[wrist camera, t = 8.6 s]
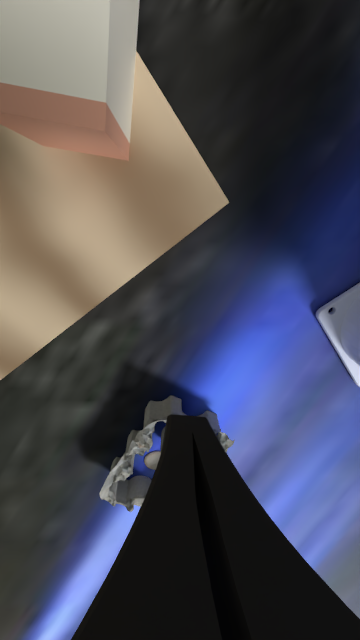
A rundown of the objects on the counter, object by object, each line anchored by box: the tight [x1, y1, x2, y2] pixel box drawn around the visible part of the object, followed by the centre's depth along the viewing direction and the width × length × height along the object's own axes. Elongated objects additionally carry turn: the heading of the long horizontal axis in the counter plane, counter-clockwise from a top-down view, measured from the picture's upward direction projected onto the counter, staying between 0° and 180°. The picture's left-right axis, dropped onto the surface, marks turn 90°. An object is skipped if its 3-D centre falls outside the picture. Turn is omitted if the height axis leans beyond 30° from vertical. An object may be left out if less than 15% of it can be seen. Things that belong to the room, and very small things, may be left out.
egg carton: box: [100, 395, 234, 512], centre depth 22 cm, size 11×8×4 cm
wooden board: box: [0, 51, 229, 380], centre depth 16 cm, size 20×14×1 cm
